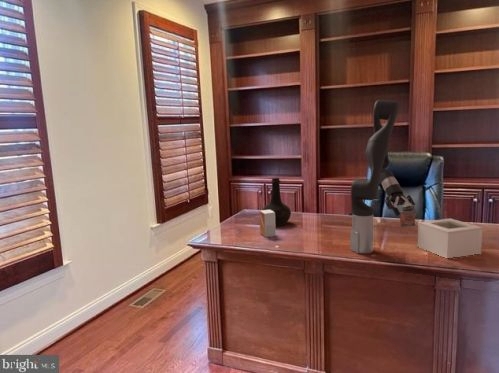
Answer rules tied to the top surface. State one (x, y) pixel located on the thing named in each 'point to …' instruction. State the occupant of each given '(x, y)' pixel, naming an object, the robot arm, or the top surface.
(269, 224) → the small box
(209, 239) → the top surface
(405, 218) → the lighter
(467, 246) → the slot box
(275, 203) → the glass bottle
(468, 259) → the top surface
